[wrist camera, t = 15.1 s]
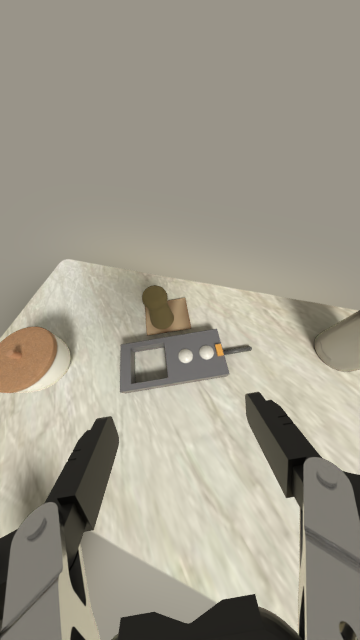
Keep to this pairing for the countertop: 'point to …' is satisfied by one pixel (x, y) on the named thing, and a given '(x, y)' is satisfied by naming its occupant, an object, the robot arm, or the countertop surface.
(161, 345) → the charging strip
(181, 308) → the cork pad
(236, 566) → the countertop surface
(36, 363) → the lidded bowl
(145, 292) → the pepper shaker
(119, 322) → the countertop surface
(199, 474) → the countertop surface
